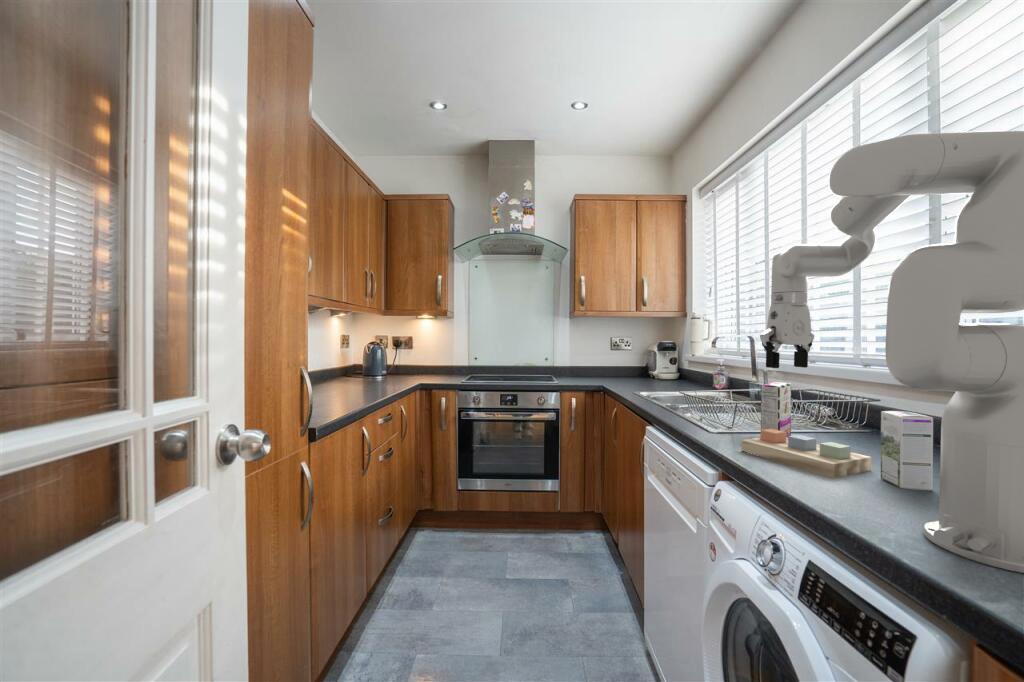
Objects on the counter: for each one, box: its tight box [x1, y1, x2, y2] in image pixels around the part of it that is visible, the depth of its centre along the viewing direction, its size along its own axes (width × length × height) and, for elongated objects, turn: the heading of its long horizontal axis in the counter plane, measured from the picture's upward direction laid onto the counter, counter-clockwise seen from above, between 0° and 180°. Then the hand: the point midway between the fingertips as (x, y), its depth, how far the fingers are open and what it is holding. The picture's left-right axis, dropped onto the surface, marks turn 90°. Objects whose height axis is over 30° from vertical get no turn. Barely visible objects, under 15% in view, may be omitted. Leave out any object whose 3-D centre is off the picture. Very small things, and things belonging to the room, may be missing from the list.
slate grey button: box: [788, 434, 817, 451], centre depth 96 cm, size 4×4×3 cm
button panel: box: [741, 437, 873, 479], centre depth 96 cm, size 14×21×3 cm, turn 23°
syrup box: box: [880, 410, 934, 491], centre depth 80 cm, size 6×6×14 cm
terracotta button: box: [759, 429, 786, 444], centre depth 102 cm, size 4×4×3 cm
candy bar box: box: [760, 381, 792, 438], centre depth 115 cm, size 11×5×16 cm, turn 131°
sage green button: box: [819, 441, 852, 460], centre depth 89 cm, size 4×4×3 cm
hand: (786, 367), depth 102 cm, fingers open, 9 cm apart
